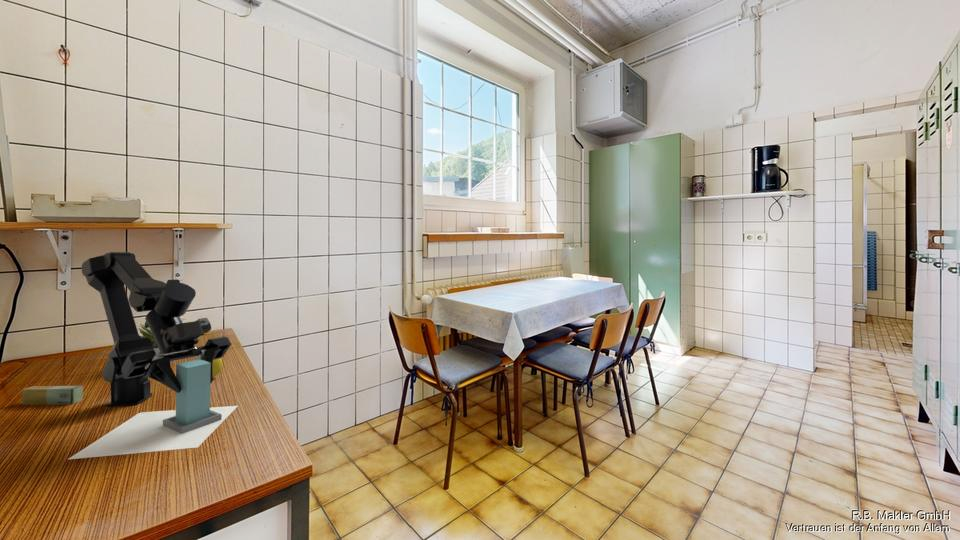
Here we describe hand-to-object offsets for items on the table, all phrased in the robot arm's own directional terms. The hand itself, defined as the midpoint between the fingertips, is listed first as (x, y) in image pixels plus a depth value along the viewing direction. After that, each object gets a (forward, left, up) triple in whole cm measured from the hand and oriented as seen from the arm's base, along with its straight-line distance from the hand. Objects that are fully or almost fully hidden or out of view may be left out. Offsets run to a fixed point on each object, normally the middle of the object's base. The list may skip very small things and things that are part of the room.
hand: (195, 387), depth 80 cm
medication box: (-41, +23, -9) cm, 48 cm away
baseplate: (-5, -1, -9) cm, 10 cm away
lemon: (-11, +35, -9) cm, 38 cm away
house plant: (-33, +55, -9) cm, 65 cm away
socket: (-1, +1, -8) cm, 8 cm away
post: (-1, +1, -8) cm, 8 cm away
